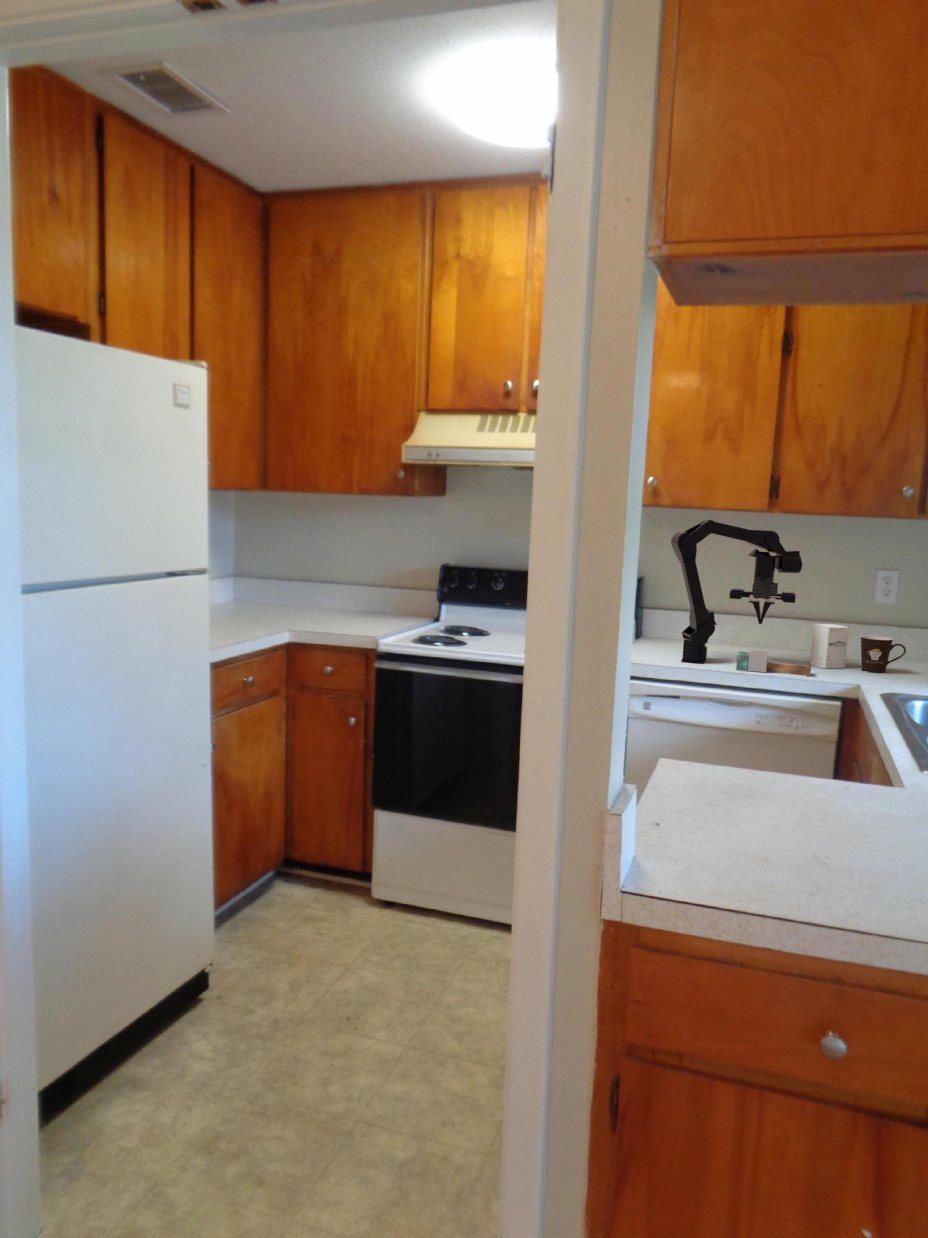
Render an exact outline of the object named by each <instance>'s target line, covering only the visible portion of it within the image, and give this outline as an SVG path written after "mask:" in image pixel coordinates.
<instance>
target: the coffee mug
mask: <svg viewBox="0 0 928 1238" xmlns="http://www.w3.org/2000/svg"><path fill="white" fill-rule="evenodd" d="M893 641H894V640H893V638H891V637H886V636H880V635H860V655H861V671H863V672H865V671H867V672H866V673H870V674H871V673H872V674H885V673H886V671H887V667H888V665H889V664H890V663H893V662H895V661H897V660H900V659H901V658H902V657H903V656H905V655H906V653H907V649H906V647H905V645H903V644H901V643H894V644H893ZM898 646H899V647H901V648H902V649H903V653H901V655H899V656H897V657H895V658H893V659H891V660H889V658H890V654H891V651H892V650H893V649H894V648H895V647H898Z"/></svg>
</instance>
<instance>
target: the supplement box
mask: <svg viewBox="0 0 928 1238" xmlns="http://www.w3.org/2000/svg"><path fill="white" fill-rule="evenodd" d="M812 626H813V627H812V636H811V647H810V658H809V665H812V666H814V667H819V668H822V669H845V668H846V660H847V650H848V642H849V641H848V639H849V628H850V627H849V626H845V625H842V624H841V625H840V624H833V623H813V625H812Z"/></svg>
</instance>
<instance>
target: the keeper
mask: <svg viewBox="0 0 928 1238" xmlns="http://www.w3.org/2000/svg"><path fill="white" fill-rule="evenodd" d="M748 652H749V660H748V670H747V672H748V671H750V672H760V673H767V672H766V668H767V662H769V661H768V660H769V659H768V658H769V650H768V651H766V650H754V649H750V650H749V651H748Z"/></svg>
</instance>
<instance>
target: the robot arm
mask: <svg viewBox="0 0 928 1238" xmlns="http://www.w3.org/2000/svg"><path fill="white" fill-rule="evenodd" d="M709 535H715V536H718V537H719V536H721V537H723V538H727V539H728V538H729V539H733V540H737V541H742V542H745V543H746V544H749V546H753V547H755V548H754V549H753V550H752V551H751V552H750V553H748V556H749V557H751V558H754V559H755V560H754V561H755V562H754V572H753V584H752V589H751V591H745V588H735V587H733V588H732V589H730V590H729V599H732V600H733V599H734V600H741V599H742V598H748V599H749V600H748V603H751V604H752V605H753V608H754V611H755V613H756V618H757V622H758V624H759V625H762V624H763V622H764V619H765V617H766V614H767V612H768V610H769V608H770V607H771V605H775V604H776V600H780V601H782V602H784V603H789V604H790V603H791V604H795V603H796V597H797V594H796V593H795V592H794V591H781V593H778V589H779V583H778V582H775V581H774V580H775V570H777V572H778V573H780V574H799V573H800V572H801V571H802V569H803V562H802V556H801V554H800V553H801V550H786V549H785V548H784V546H783V545H782V543H781V541H780V540H781V538H780V535H779V534H778V533H777V532H776V531H774V530H766V529H747V528H743V527H740V526H735V525H731V524H727V523H722V522H719V521H718V522H717V521H715V520H713V519H703V520H702V521H701V522H699V523H697V524H696V525H693V526H691V527H690V528H688V529H686V530H685V531H679V532H677V533H675V534H674V535H673V536H672V537H671V540H670V543H671V547H672V549H673V552H674V554H675V556H676V557H677V560H678V561H679V563H680V567H681V571H682V575H683V580H684V585H685V589H686V594H687V599H688V602H689V607H690V609H689V610H690V611H689V617H688V618H689V620H688V621H689V625H688V626H687V627H686V628H685V629H683V631H682V632H681V635H682V636H681V637H682V639H683V644H682V645H683V646H682V658H681V661H680V662H683V661H685V662H686V663H693V662H696V664H704V663H705V662H706V661H707V659H708V658H707V657H708V645H706V644H708V641H709V638H710V637H711V636H713V634H714V633H715V631H716V626H717V625H718V623H717V622H716V619H715V612H714V611H713V610H711V609H707V607H706V604H705V597H704V594H703V590H702V586H701V580H700V577H699V571H698V567H697V566H698V565H697V562H696V559H697V553H698V549H697V548H698V545H697V544H699V543H701V542H702V541H703V540H704V539H706V538H707V537H708V536H709ZM757 548H758V549H757ZM759 549H760V550H765V551H760V550H759ZM771 553H772V554H773V555H771ZM774 554H775V555H774ZM760 599H764V602H763V606H762V611H761V600H760ZM685 662H684V663H685Z"/></svg>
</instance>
